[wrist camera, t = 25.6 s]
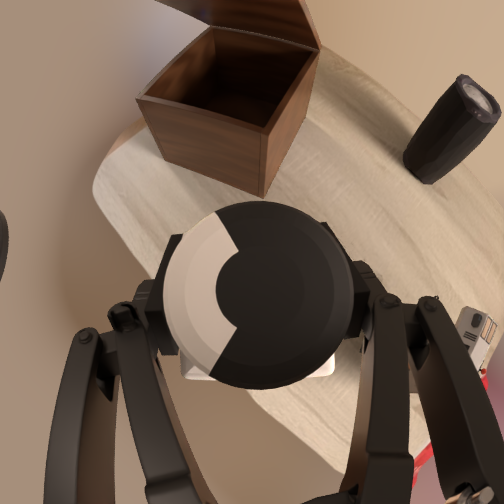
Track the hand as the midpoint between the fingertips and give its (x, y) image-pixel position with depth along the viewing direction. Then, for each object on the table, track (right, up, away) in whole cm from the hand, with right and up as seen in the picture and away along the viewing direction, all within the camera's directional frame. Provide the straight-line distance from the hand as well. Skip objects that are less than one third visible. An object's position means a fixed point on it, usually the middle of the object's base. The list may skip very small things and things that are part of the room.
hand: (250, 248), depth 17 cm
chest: (-2, +18, +26) cm, 31 cm away
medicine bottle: (0, -4, +3) cm, 5 cm away
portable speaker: (+29, +15, +25) cm, 41 cm away
